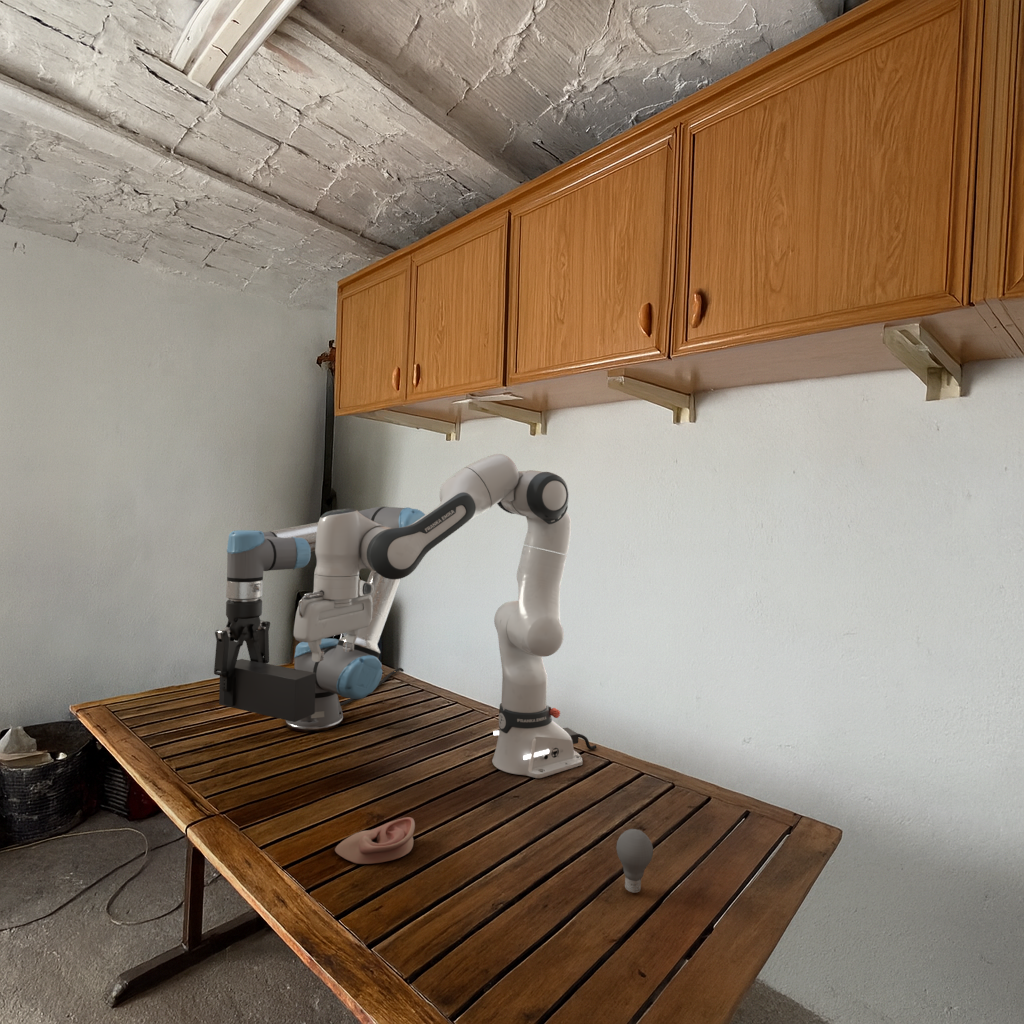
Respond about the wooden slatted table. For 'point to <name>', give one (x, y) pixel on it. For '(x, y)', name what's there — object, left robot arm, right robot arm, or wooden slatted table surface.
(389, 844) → the anatomical model
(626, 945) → the wooden slatted table surface
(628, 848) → the light bulb
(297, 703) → the box
